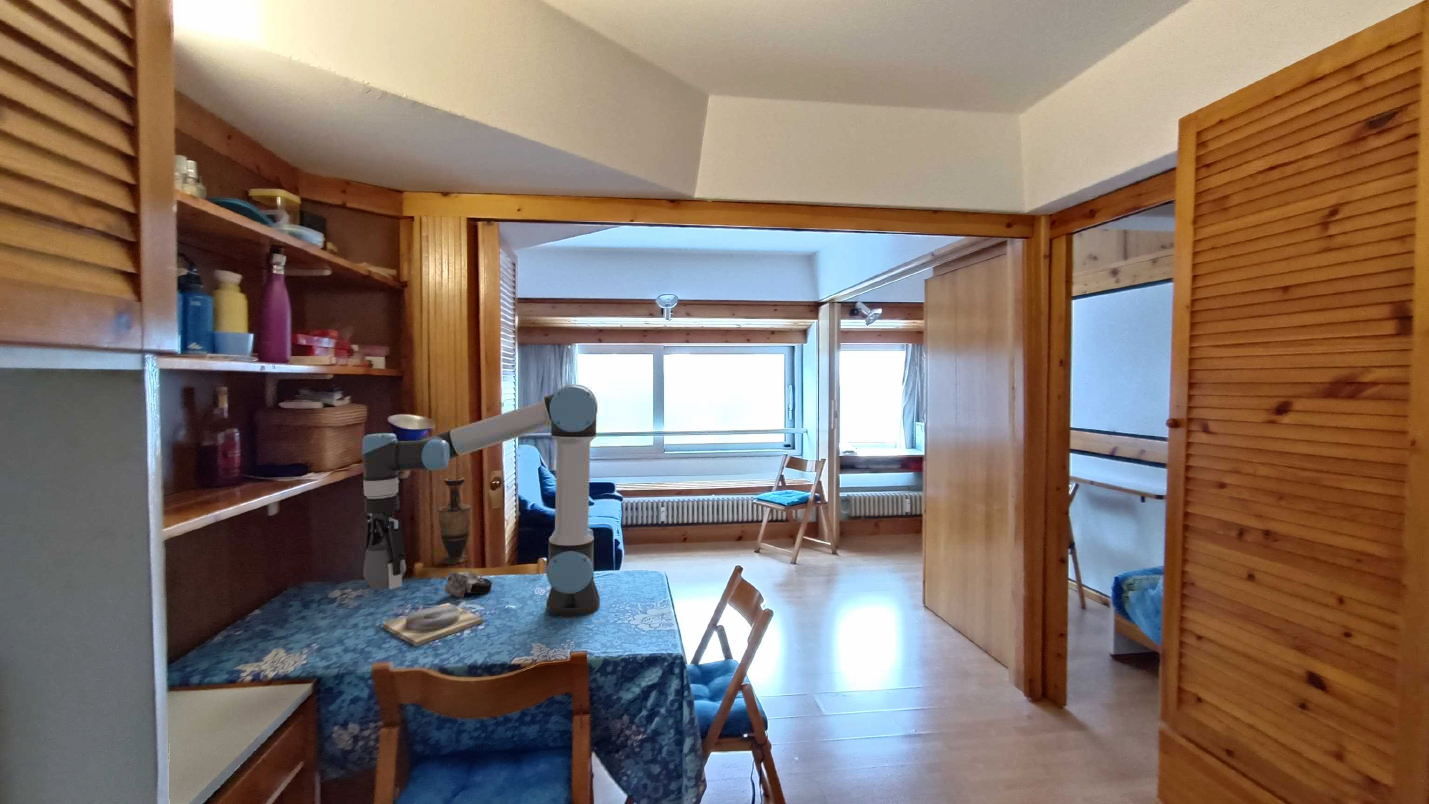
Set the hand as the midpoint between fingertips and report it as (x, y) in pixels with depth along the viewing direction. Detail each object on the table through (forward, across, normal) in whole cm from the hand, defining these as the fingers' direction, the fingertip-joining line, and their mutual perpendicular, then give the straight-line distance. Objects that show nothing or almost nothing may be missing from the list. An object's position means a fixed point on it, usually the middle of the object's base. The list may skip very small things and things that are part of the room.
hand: (385, 583), depth 150 cm
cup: (+1, 0, 0) cm, 1 cm away
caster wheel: (+15, +14, -32) cm, 38 cm away
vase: (+15, +47, -46) cm, 67 cm away
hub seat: (+15, 0, -12) cm, 19 cm away
